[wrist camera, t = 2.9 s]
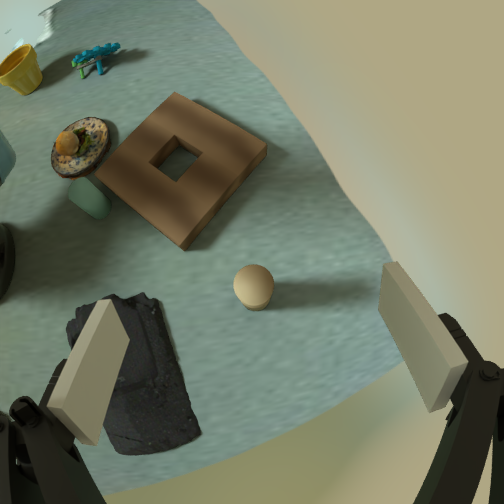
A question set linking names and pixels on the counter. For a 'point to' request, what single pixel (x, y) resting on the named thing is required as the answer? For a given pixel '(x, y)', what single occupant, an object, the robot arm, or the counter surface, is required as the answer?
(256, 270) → the long maple pin
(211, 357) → the counter surface
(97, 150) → the burger
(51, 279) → the counter surface
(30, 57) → the plant pot
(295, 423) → the counter surface
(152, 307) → the dark slate chunk
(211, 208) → the walnut hole board
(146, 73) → the counter surface
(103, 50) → the gear
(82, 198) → the short teal pin
